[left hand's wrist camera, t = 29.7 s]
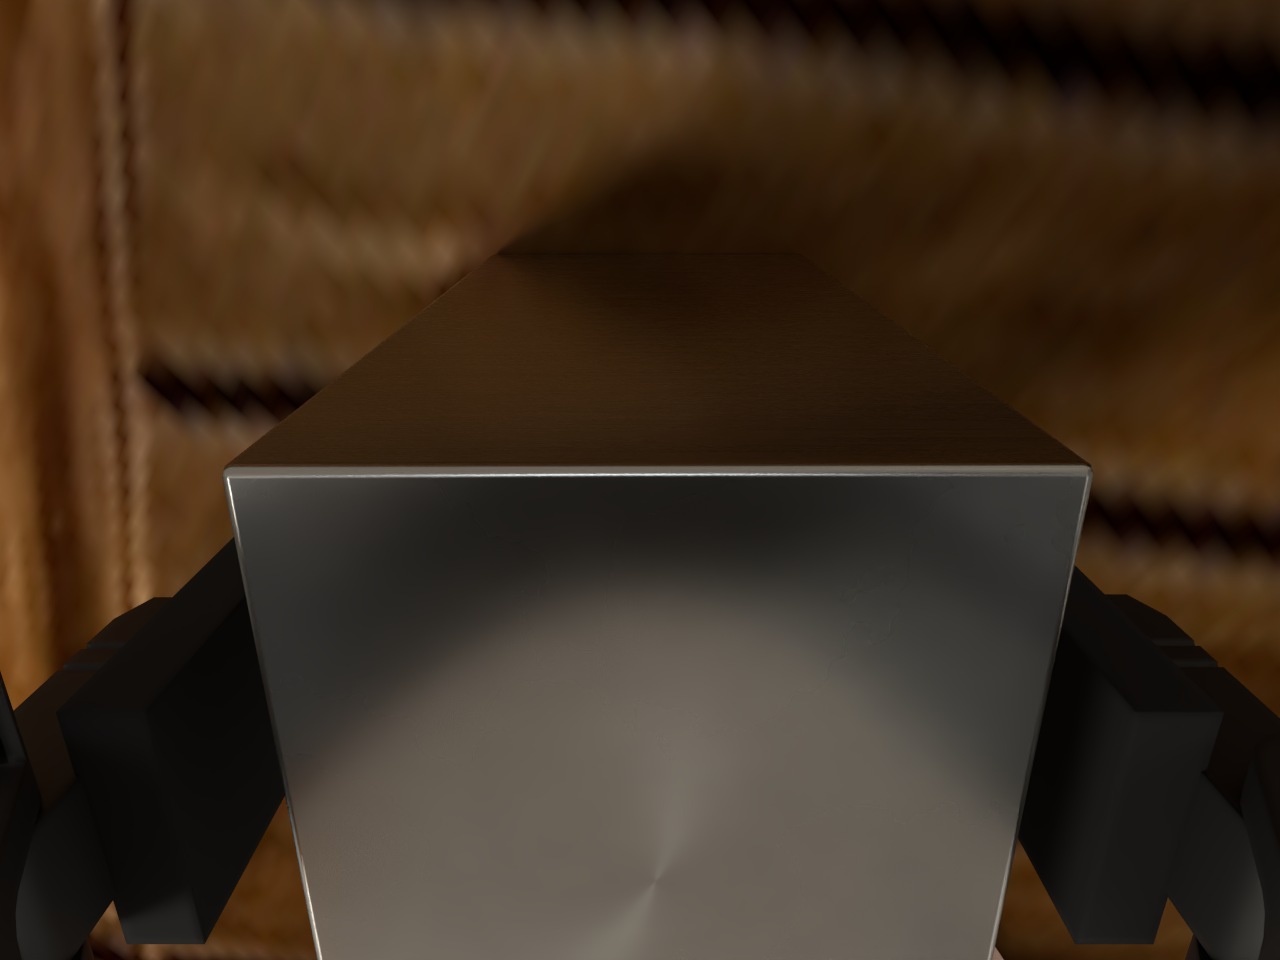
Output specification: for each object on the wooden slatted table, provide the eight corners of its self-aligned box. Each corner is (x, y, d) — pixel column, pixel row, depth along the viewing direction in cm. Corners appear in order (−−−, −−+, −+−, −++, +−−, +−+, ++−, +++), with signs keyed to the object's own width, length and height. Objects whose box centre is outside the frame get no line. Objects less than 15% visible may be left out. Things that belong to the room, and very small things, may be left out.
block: (802, 253, 17) (1100, 465, 6) (779, 593, 20) (953, 1162, 9) (490, 253, 17) (214, 467, 6) (513, 593, 20) (353, 1162, 9)
